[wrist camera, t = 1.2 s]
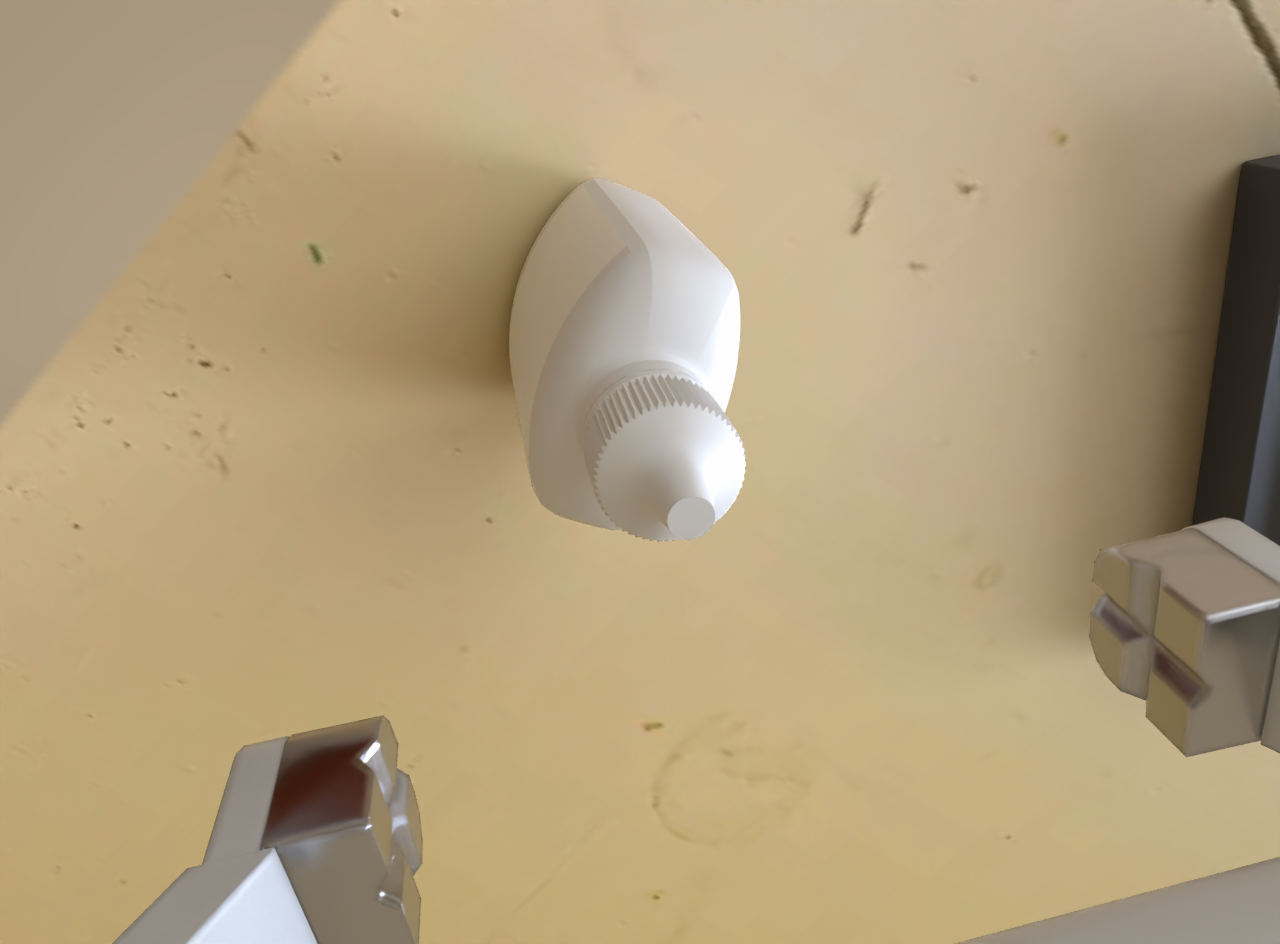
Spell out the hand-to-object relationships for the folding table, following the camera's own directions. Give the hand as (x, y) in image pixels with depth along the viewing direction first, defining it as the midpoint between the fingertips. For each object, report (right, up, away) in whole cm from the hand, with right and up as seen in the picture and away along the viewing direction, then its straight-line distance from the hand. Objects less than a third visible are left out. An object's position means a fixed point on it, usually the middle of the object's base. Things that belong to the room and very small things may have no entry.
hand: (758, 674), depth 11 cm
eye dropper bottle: (-3, +7, +14) cm, 16 cm away
